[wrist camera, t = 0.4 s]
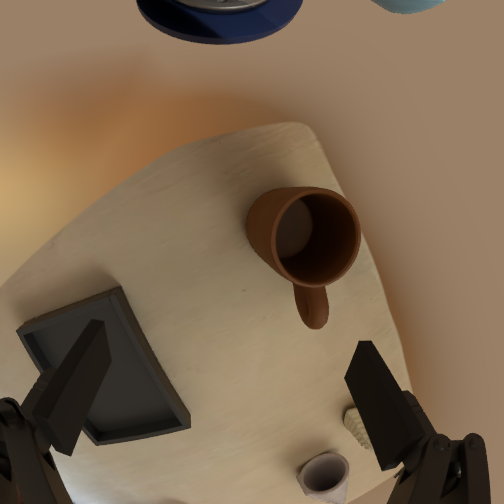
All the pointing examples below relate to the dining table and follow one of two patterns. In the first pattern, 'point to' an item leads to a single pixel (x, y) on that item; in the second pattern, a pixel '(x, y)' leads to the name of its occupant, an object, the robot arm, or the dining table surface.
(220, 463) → the dining table surface
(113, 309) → the tray
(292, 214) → the mug
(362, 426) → the seashell
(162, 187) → the dining table surface
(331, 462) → the planter
